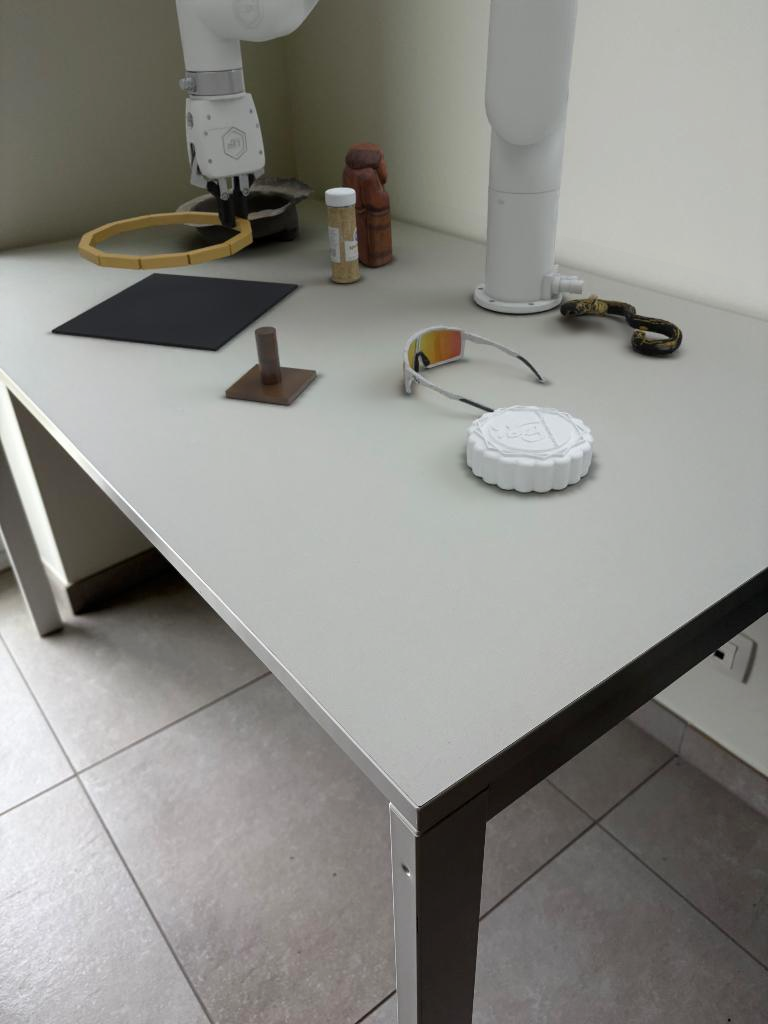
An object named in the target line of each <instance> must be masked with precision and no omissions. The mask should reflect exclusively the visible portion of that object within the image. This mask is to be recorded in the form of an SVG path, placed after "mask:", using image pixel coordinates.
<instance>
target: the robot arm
mask: <svg viewBox="0 0 768 1024" xmlns="http://www.w3.org/2000/svg"><path fill="white" fill-rule="evenodd" d="M318 2H320V0H175V7H176V14H177V20H178V27H179V28H178V29H179V33H180V34H179V35H180V42H181V48H182V54H183V62H184V67H185V71H184V74H185V75H184V76H185V77H184V78H179V81H178V85H179V88H180V90H181V91H187V94H189V97H186V99H185V136H186V149H187V155H188V162H189V167H190V171H191V173H190V181H189V184H190V185H191V186H192V187H195V188H200V189H204V190H206V191H207V192H208V193H209V194H210V193H211V194H212V196H213V197H216V201H217V208H218V215H219V219H220V221H221V224H222V225H223V226H226V227H229V228H235V226H236V222H235V221H236V220H235V216H236V217H239V218H242V219H245V220H248V206H247V198H246V196H247V195H248V194H249V189H250V187H251V185H252V184H253V182H254V180H255V179H257V178H261V177H262V176H263V175H264V174H265V173H266V170H265V165H266V156H265V155H266V154H265V147H264V141H263V135H262V130H261V125H260V120H259V117H258V112H257V109H256V105H255V102H254V99H253V96H252V93H249V92H246V85H245V77H244V68H243V59H242V50H241V41H247V42H251V43H252V42H254V43H261V42H267V41H271V40H275V39H276V38H281V37H286V36H288V35H291V34H292V33H293V32H294V31H296V30H297V29H298V28H299V27H300V26H301V25H302V23H303V22H304V21H305V20H306V19H307V17H308V16H309V15H310V14H311V12H312V11H313V9H314V8H315V7H316V5H317V4H318ZM489 5H490V6H489V20H488V21H489V23H488V39H487V54H486V56H487V57H486V69H485V70H486V73H485V90H484V108H485V113H486V118H487V120H488V123H489V125H490V126H491V132H490V146H489V147H490V148H489V165H488V166H489V169H488V189H487V214H486V215H487V218H486V245H485V246H486V248H485V274H484V275H485V276H484V277H485V278H484V282H483V283H481V284H479V285H478V286H476V287H475V289H474V291H473V300H474V302H475V303H476V304H477V305H479V306H480V307H482V308H484V309H487V310H490V311H494V312H497V313H498V312H499V313H504V314H505V313H506V314H534V313H539V312H544V311H548V310H551V309H553V308H555V307H557V306H558V305H560V304H561V302H562V300H563V293H569V294H572V295H583V293H584V288H585V279H579V278H578V277H579V276H578V275H564V274H563V275H562V273H561V272H558V271H559V264H557V263H555V253H556V240H557V229H558V228H557V227H558V216H559V205H560V204H559V203H560V193H561V192H560V191H561V186H562V185H561V184H562V174H563V173H562V172H563V161H564V148H565V136H566V124H567V114H568V105H569V97H570V96H569V94H570V85H569V84H570V76H571V68H572V60H573V59H572V58H573V50H574V41H575V33H576V25H577V14H578V6H579V0H490V4H489ZM205 177H206V178H208V179H205ZM227 178H230V179H231V188H232V190H233V193H232V194H230V199H229V193H228V189H229V187H228V183H227Z"/></svg>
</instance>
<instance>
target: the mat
mask: <svg viewBox="0 0 768 1024" xmlns="http://www.w3.org/2000/svg"><path fill="white" fill-rule="evenodd" d="M298 287H299V284H297V283H287V282H286V283H285V282H284V283H283V282H272V281H259V280H248V279H246V280H245V279H237V278H235V279H234V278H222V277H210V276H209V277H208V276H198V275H186V274H185V275H184V274H173V273H171V274H170V273H159V272H153V273H152V274H150V275H148V276H146V277H143V278H142V279H141V280H139V281H137V282H135V283H134V284H132V285H130V286H128V287H127V288H125V289H123V290H121V291H120V292H118V293H116V294H114V295H112V296H110V297H108V298H106V299H105V300H103V301H102V302H99V303H98V304H95V305H94V306H93V307H91V308H89V309H87V310H86V311H83V312H81V313H80V314H78V315H76V316H75V317H72V318H71V319H69V320H67V321H66V322H64V323H62V324H59V325H58V326H56V327H54V328H53V329H52V330H51V333H52V334H58V335H66V336H67V335H68V336H77V337H84V338H85V337H87V338H94V339H105V340H113V341H123V342H132V343H141V344H149V345H150V344H151V345H159V346H169V347H178V348H187V349H196V350H205V351H215V352H216V351H218V350H220V348H221V347H223V346H224V345H225V344H227V343H228V342H229V341H231V340H232V339H233V338H235V337H236V336H237V335H238V334H240V333H241V332H242V331H244V330H245V329H246V328H248V326H250V325H252V323H253V322H255V321H256V320H258V319H259V318H260V317H261V316H262V315H264V314H265V313H267V312H268V311H269V310H271V309H272V308H273V307H274V306H276V305H277V304H278V303H279V302H281V301H282V300H283V299H284V298H286V297H287V296H288V295H290V294H291V293H292V292H293V291H295V290H296V289H298Z"/></svg>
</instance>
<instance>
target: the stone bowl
mask: <svg viewBox="0 0 768 1024" xmlns="http://www.w3.org/2000/svg"><path fill="white" fill-rule="evenodd" d="M228 193H229V199H230V194H232V193H233V190H232V187H231V188H228ZM314 193H315V189H314V188H313V187H311V186H309V185H308V183H307V182H306V183H304V181H303V180H299V179H297V177H296V176H293V177H290V178H280V177H276V178H275V177H273V176H272V177H271V176H266V177H262V176H260V177H259V178H257V179H255V180H254V182H253V184H252V185H251V187H250V189H249V194H248V195H247V196H246V198H247V206H248V221H250V225H251V230H252V238H253V239H259V238H260V237H266V236H270V237H272V238H276V237H277V236H278V237H279V238H281V239H283V240H284V241H289V240H294V239H297V237H298V235H299V230H300V222H299V215H298V210H297V206H296V205H298V204H300V203H301V202H302V201H304V200H307V199H308V198H309V196H310V194H314ZM176 212H209V213H218V208H217V201H216V197H213V196H212V194H211V193H210V192H209V193H206V194H203V195H200V196H196V197H194V198H193V199H191V200H189V201H186V202H184V203H183V204H180V205H178V206H177V209H176V210H175V212H174V213H176ZM183 225H184V226H189V227H195V228H196V230H197V231H198V233H199V235H201V237H202V239H203V240H204V242H205V243H206V244H207V245H209V247H210V246H214V245H218V244H222V243H224V242H226V241H228V240H229V239H231V238H233V237H235V236H236V235H238V234H240V233H241V232H240V231H237V230H234V229H232V228H229V227H226V226H223V225H212V224H197V223H184V224H183Z"/></svg>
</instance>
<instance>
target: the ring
mask: <svg viewBox="0 0 768 1024" xmlns="http://www.w3.org/2000/svg"><path fill="white" fill-rule="evenodd" d="M175 212H176V211H175ZM175 212H166V213H164V212H163V213H153V214H152V213H151V214H146V215H140V216H136V217H131V218H127V219H122V220H121V219H120V220H118V221H113V222H108V223H106V224H103V225H102V226H99V227H97V228H94V229H92V230H91V231H88V232H86V233H84V234H83V235H82V236H81V239H80V241H79V244H78V246H77V248H78V252H79V256H80V258H82V259H84V260H86V261H88V262H89V263H92V264H94V265H96V266H98V267H101V268H110V269H111V268H112V269H123V270H133V271H134V270H135V271H141V270H142V271H146V270H147V271H148V270H157V269H159V270H160V269H170V268H180V267H182V268H183V267H189V266H194V265H199V264H203V263H205V262H206V263H207V262H210V261H214V260H218V259H222V258H226V257H230V256H233V255H234V254H236V253H237V252H239V251H241V250H242V249H244V248H246V247H248V246H249V245H250V244H252V243H253V242H254V240H253V239H254V238H252V230H251V225H250V221H248V220H245V219H242V218H239V217H236V216H235V220H236V221H235V222H236V226H235V228H232V229H234V230H237V231H240V232H241V233H240V234H238V235H236V236H235V237H233V238H231V239H229V240H228V241H226V242H224V243H222V244H218V245H214V246H210V245H209V246H206V247H203V248H198V249H194V250H189V251H185V252H184V251H183V252H173V253H163V254H152V255H151V254H150V255H134V254H121V253H120V254H119V253H106V252H104V251H102V250H100V249H97V248H96V247H95V246H96V245H97V244H99V243H100V242H101V243H102V242H103V241H105V240H107V239H110V238H112V237H114V236H116V235H118V234H123V233H128V232H131V231H136V230H141V229H145V228H150V227H157V226H158V227H159V226H171V225H185V224H184V223H197V224H212V225H222V224H221V221H220V219H219V215H218V213H209V212H176V213H175Z"/></svg>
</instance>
